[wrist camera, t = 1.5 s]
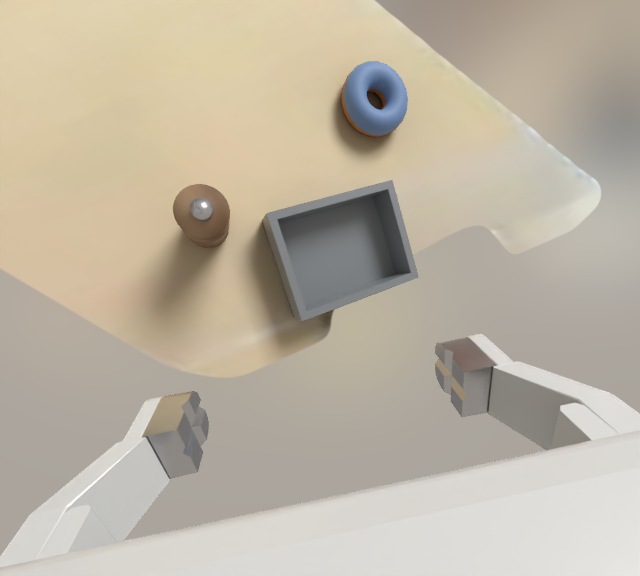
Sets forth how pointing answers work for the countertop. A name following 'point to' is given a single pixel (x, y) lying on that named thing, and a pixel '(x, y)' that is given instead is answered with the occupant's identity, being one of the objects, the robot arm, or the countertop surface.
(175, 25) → the countertop surface
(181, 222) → the pepper mill
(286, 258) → the bin
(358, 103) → the doughnut
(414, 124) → the countertop surface
